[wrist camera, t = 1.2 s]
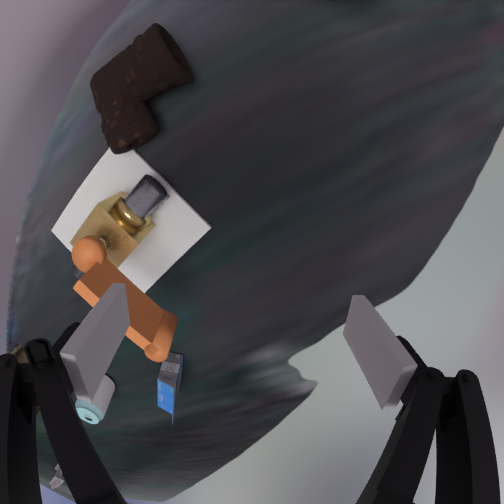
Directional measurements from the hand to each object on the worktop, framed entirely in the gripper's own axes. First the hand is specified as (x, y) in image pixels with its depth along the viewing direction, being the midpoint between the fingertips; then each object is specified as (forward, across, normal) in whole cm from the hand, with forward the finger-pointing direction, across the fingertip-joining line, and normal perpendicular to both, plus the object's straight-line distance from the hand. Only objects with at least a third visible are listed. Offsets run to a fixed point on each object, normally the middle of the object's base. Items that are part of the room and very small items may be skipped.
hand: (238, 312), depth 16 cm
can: (+33, -30, -43) cm, 62 cm away
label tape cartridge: (+33, -12, -34) cm, 49 cm away
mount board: (+32, -18, -4) cm, 37 cm away
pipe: (+31, -16, +18) cm, 39 cm away
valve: (+32, -18, -4) cm, 37 cm away
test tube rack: (+36, -76, -118) cm, 145 cm away
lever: (+19, -14, -8) cm, 25 cm away
